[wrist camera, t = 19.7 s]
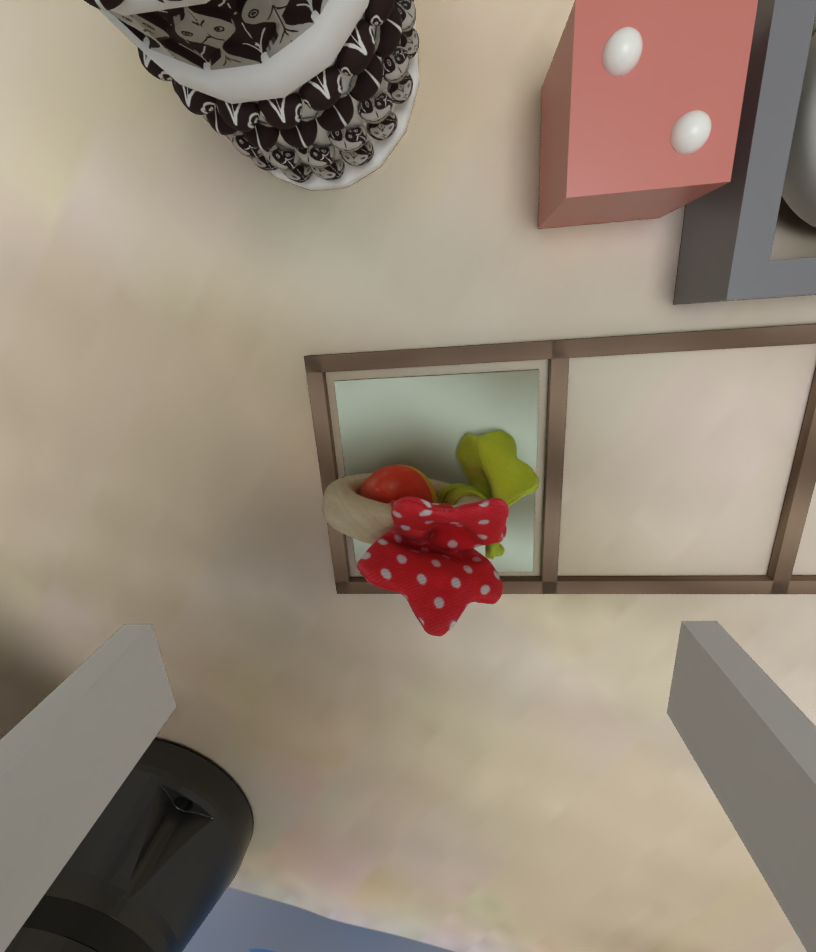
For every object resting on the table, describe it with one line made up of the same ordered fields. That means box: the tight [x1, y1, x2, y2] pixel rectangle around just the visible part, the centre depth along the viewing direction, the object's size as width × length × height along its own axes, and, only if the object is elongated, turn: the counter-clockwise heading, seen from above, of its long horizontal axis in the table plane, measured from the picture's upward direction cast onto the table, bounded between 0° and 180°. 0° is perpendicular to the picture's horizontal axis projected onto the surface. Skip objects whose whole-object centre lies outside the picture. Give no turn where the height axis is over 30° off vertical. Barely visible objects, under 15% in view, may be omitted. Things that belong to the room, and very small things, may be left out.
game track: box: [304, 324, 816, 594], centre depth 22 cm, size 14×36×1 cm, turn 94°
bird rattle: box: [323, 430, 539, 636], centre depth 18 cm, size 6×11×9 cm
